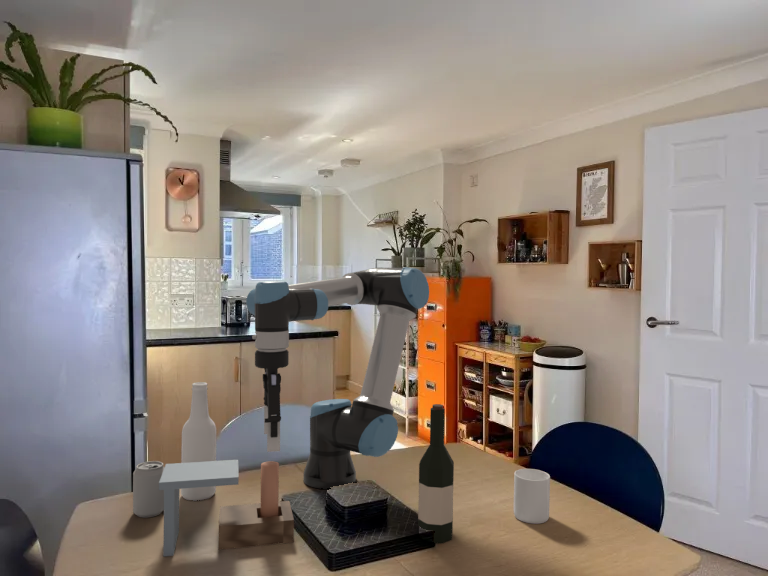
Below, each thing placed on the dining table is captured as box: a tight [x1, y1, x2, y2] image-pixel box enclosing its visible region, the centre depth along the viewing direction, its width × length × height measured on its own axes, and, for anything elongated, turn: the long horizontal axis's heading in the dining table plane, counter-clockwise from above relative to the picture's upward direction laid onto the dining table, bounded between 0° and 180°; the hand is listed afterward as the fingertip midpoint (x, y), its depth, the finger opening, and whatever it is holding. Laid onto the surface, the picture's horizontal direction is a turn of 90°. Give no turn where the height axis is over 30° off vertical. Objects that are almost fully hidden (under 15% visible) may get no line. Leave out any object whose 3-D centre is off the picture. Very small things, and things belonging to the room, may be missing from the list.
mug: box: [513, 468, 551, 525], centre depth 143 cm, size 9×12×11 cm
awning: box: [159, 459, 240, 557], centre depth 126 cm, size 16×12×16 cm
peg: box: [260, 460, 280, 518], centre depth 130 cm, size 4×4×16 cm
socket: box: [217, 500, 295, 551], centre depth 129 cm, size 16×11×5 cm
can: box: [132, 460, 165, 519], centre depth 140 cm, size 8×8×12 cm
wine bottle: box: [417, 403, 455, 544], centre depth 130 cm, size 8×8×30 cm
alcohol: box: [180, 381, 218, 502], centre depth 151 cm, size 9×9×30 cm
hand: (271, 441), depth 130 cm, fingers open, 13 cm apart
